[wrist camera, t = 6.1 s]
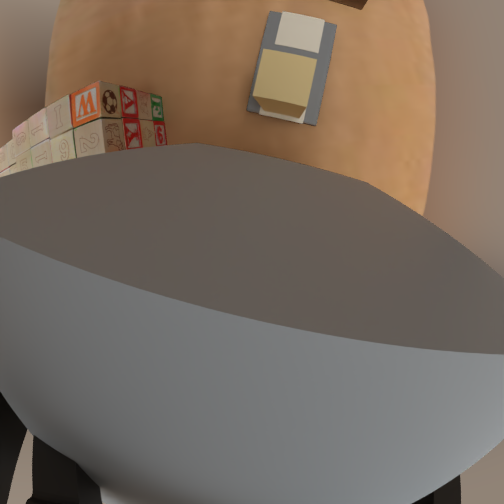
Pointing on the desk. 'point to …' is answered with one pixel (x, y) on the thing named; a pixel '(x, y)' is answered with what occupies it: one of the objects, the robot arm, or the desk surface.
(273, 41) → the board
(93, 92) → the stack of blocks
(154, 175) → the block
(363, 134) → the desk surface
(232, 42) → the desk surface
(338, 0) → the socket board
